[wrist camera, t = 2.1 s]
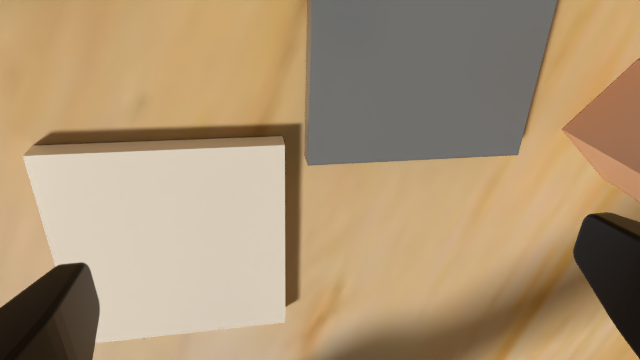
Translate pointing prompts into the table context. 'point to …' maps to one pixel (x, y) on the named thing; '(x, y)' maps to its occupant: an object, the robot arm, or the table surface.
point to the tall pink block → (613, 132)
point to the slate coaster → (420, 77)
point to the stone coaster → (169, 230)
